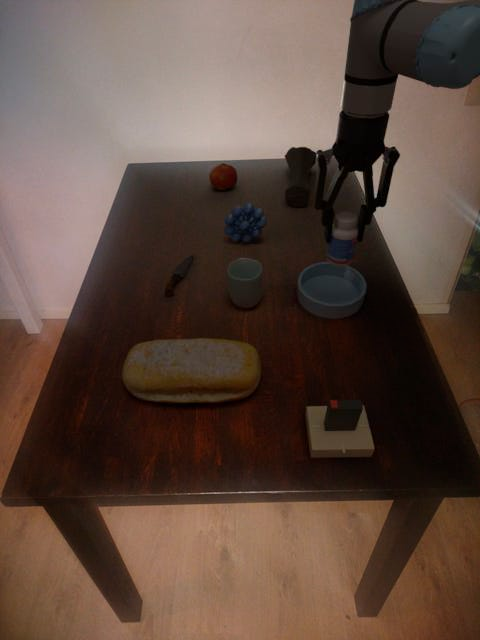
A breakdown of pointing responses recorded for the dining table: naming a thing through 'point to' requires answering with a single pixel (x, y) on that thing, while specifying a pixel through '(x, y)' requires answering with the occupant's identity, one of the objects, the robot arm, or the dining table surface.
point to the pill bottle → (343, 239)
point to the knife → (178, 275)
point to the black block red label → (342, 415)
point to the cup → (245, 282)
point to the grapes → (245, 223)
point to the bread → (192, 370)
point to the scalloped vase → (299, 175)
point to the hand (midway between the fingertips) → (342, 238)
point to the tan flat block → (337, 437)
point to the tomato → (223, 176)
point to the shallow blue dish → (331, 290)
